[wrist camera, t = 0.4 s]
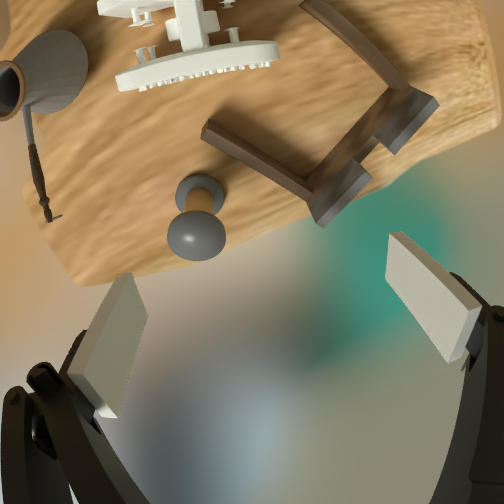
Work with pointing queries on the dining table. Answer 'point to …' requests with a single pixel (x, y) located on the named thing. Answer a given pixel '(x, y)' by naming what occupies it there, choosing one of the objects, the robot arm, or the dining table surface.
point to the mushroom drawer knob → (197, 219)
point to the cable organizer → (185, 44)
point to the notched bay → (353, 143)
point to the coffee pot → (42, 88)
